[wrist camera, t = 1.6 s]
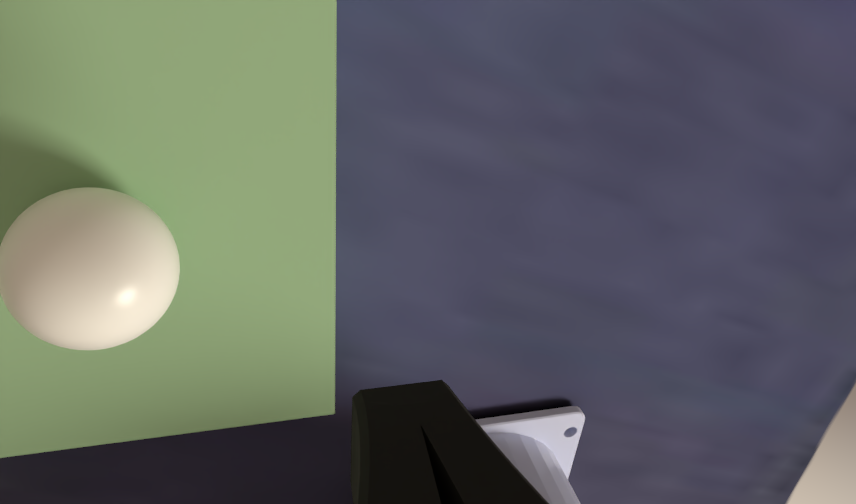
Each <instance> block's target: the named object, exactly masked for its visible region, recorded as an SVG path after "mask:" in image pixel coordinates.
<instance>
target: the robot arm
mask: <svg viewBox="0 0 856 504" xmlns="http://www.w3.org/2000/svg"><path fill="white" fill-rule="evenodd" d="M584 421H585V416H584V414H583V412H582V411H581V409H580V408H579V407H577V406H568V407H561V408H554V409H547V410H540V411H533V412H526V413H518V414H511V415H504V416H497V417H490V418H483V419H476V420H475V419H474V418H473V416H472V415H471V414H470V413H469V411H468V410H467V409H466V408H465V406H464V405H463V404H462V403H461V401H460V400H459V399H458V398H457V396H456V395H455V394H454V392H453V391H452V390H451V389H450V387H449V386H448V385H447V384H446V383H445V382H443V381H442V380H438V381H430V382H422V383H414V384H406V385H398V386H390V387H382V388H374V389H365V390H360V391H359V392H358V393H357V394H355V395H354V396H353V397H352V438H351V489H352V497H353V504H580V502H579V500H578V498H577V496H576V494H575V493H574V491H573V489H572V487H571V485H570V483H569V481H568V477H569V474H570V470H571V467H572V463H573V460H574V456H575V453H576V449H577V446H578V442H579V438H580V435H581V431H582V428H583V424H584Z"/></svg>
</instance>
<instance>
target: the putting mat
mask: <svg viewBox="0 0 856 504" xmlns="http://www.w3.org/2000/svg"><path fill="white" fill-rule="evenodd" d="M82 187H94V188H105V189H110V190H115V191H118V192H121V193H124V194H127V195H129V196H131V197H133V198H135V199H137V200H139V201H140V202H142V203H144V204H145V205H147V206H148V207H149V208H151V209H152V210H153V211H154V212H155V213H156V214H157V215H158V216H159V217H160V218H161V219H162V220H163V222H164V223H165V224H166V226H167V227H168V229H169V230H170V232H171V234H172V236H173V238H174V241H175V243H176V246H177V250H178V254H179V262H180V275H179V282H178V286H177V289H176V293H175V295H174V298H173V300H172V302H171V304H170V306H169V307H168V309H167V310H166V312H165V313H164V315H163V316H162V317H161V318H160V319H159V320H158V321H157V322H156V323H155V325H153V326H152V327H151V328H150V329H149V330H147V331H146V332H144V333H143V334H141V335H140V336H138V337H137V338H135V339H133V340H131V341H129V342H126V343H124V344H121V345H118V346H115V347H111V348H107V349H101V350H74V349H68V348H63V347H59V346H56V345H53V344H50V343H48V342H45V341H43V340H41V339H39V338H38V337H36V336H34V335H33V334H31V333H30V332H28V331H27V330H26V329H25V328H24V327H23V326H22V325H20V324H19V323H18V322H17V321H16V320H15V318H14V317H13V316H12V315H11V314H10V312H9V310H8V309H7V307H6V305H5V303H4V301H3V299H2V297H1V294H0V458H3V457H11V456H18V455H26V454H34V453H41V452H49V451H56V450H64V449H72V448H79V447H87V446H95V445H102V444H110V443H117V442H125V441H133V440H140V439H148V438H155V437H163V436H171V435H178V434H186V433H193V432H201V431H209V430H216V429H224V428H231V427H239V426H247V425H254V424H262V423H269V422H277V421H285V420H292V419H300V418H307V417H315V416H323V415H330V414H335V252H336V0H0V245H1V243H2V240H3V238H4V236H5V234H6V232H7V230H8V229H9V227H10V226H11V225H12V223H13V222H14V221H15V220H16V218H17V217H18V216H19V215H20V214H21V213H23V212H24V211H25V210H26V209H27V208H28V207H30V206H31V205H33V204H34V203H36V202H37V201H39V200H41V199H43V198H45V197H47V196H49V195H51V194H54V193H57V192H60V191H63V190H68V189H73V188H82Z"/></svg>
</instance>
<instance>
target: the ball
mask: <svg viewBox="0 0 856 504" xmlns="http://www.w3.org/2000/svg"><path fill="white" fill-rule="evenodd" d="M179 275H180V262H179V254H178V250H177V246H176V243H175V241H174V238H173V236H172V234H171V232H170V230H169V229H168V227H167V226H166V224H165V223H164V222H163V220H162V219H161V218H160V217H159V216H158V215H157V214H156V213H155V212H154V211H153V210H152V209H151V208H149V207H148V206H147V205H145V204H144V203H142V202H140V201H139V200H137V199H135V198H133V197H131V196H129V195H127V194H124V193H121V192H118V191H115V190H110V189H105V188H94V187H82V188H73V189H68V190H63V191H60V192H57V193H54V194H51V195H49V196H47V197H45V198H43V199H41V200H39V201H37V202H36V203H34V204H33V205H31V206H30V207H28V208H27V209H26V210H25V211H24V212H23V213H21V214H20V215H19V216H18V217H17V218H16V220H15V221H14V222H13V223H12V225H11V226H10V227H9V229H8V230H7V232H6V234H5V236H4V238H3V240H2V243H1V245H0V294H1V297H2V299H3V301H4V303H5V305H6V307H7V309H8V310H9V312H10V314H11V315H12V316H13V317H14V318H15V320H16V321H17V322H18V323H19V324H20V325H22V326H23V327H24V328H25V329H26V330H27V331H28V332H30V333H31V334H33V335H34V336H36V337H38V338H39V339H41V340H43V341H45V342H48V343H50V344H53V345H56V346H59V347H63V348H68V349H74V350H101V349H107V348H111V347H115V346H118V345H121V344H124V343H126V342H129V341H131V340H133V339H135V338H137V337H138V336H140V335H141V334H143V333H144V332H146V331H147V330H149V329H150V328H151V327H152V326H153V325H155V323H156V322H157V321H158V320H159V319H160V318H161V317H162V316H163V315H164V313H165V312H166V310H167V309H168V307H169V306H170V304H171V302H172V300H173V298H174V295H175V293H176V289H177V286H178V282H179Z"/></svg>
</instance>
